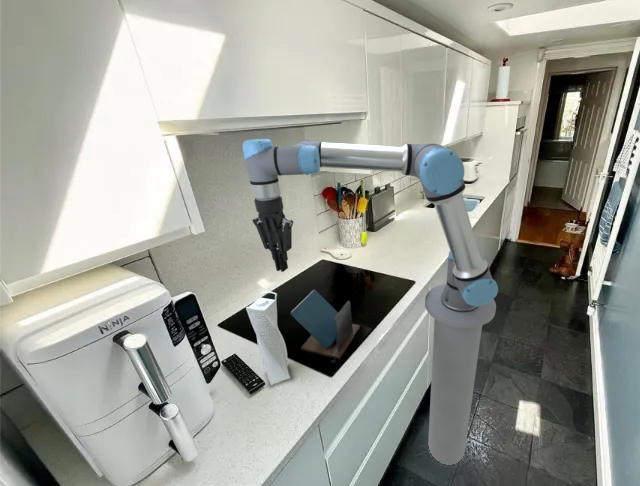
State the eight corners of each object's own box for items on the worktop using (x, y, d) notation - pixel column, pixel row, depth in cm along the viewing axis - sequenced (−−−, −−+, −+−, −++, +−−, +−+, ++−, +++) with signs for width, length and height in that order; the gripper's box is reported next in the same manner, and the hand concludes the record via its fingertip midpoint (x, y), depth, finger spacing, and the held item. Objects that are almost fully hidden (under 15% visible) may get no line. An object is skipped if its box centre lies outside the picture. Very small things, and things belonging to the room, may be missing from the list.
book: (347, 321, 107) (314, 289, 106) (330, 345, 97) (294, 309, 95) (342, 325, 109) (310, 293, 107) (325, 348, 99) (289, 313, 97)
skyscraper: (291, 362, 95) (274, 284, 83) (296, 379, 89) (278, 298, 77) (264, 371, 92) (242, 293, 80) (268, 389, 86) (244, 307, 74)
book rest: (360, 327, 109) (357, 296, 103) (339, 359, 95) (335, 326, 90) (325, 320, 113) (321, 290, 108) (301, 349, 100) (294, 317, 94)
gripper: (296, 195, 89) (307, 266, 99) (256, 192, 93) (271, 261, 104) (280, 202, 82) (294, 278, 93) (238, 199, 87) (256, 271, 97)
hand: (282, 269), depth 98 cm, fingers closed
